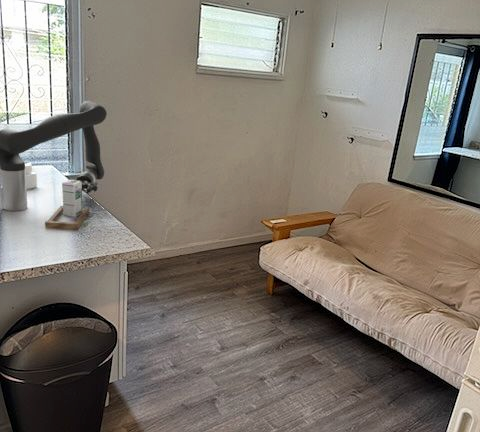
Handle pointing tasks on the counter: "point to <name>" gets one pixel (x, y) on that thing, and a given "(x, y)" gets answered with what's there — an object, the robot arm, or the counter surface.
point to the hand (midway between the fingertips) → (77, 190)
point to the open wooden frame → (67, 225)
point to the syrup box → (72, 198)
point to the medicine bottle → (30, 176)
